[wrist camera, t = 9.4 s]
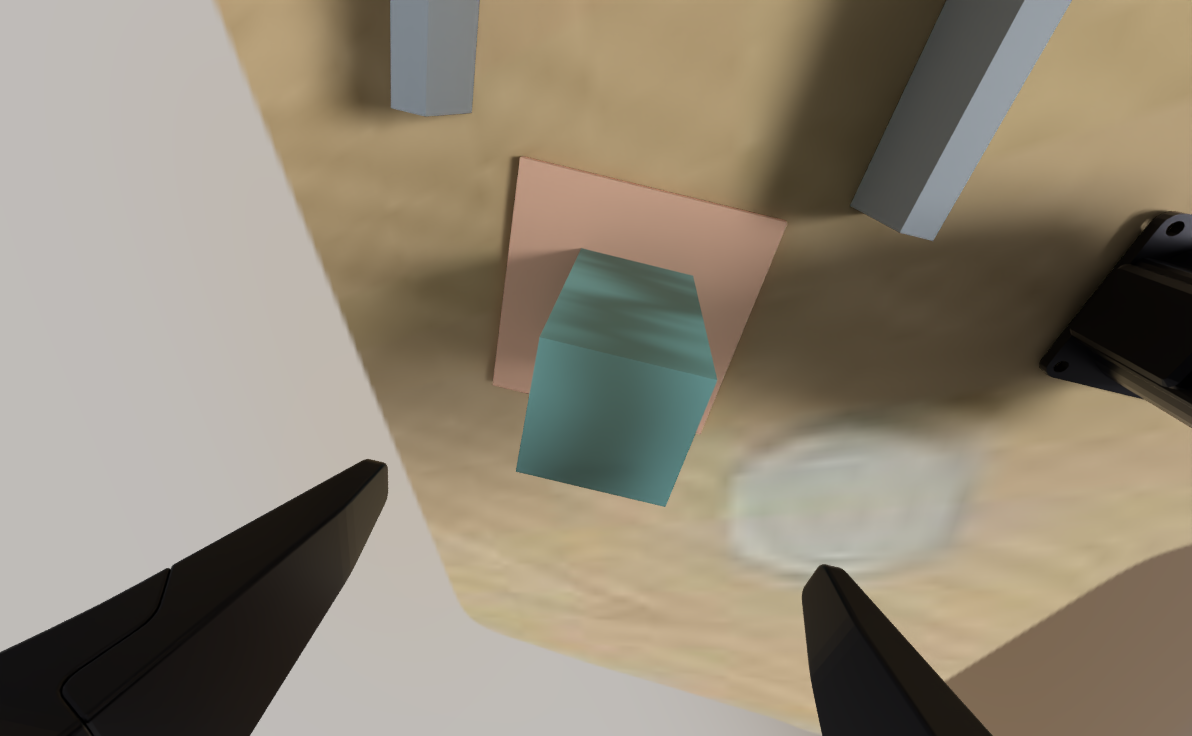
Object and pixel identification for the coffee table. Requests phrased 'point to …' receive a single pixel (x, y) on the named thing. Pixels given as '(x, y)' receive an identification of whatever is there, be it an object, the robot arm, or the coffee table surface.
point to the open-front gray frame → (910, 142)
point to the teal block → (618, 380)
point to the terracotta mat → (625, 256)
